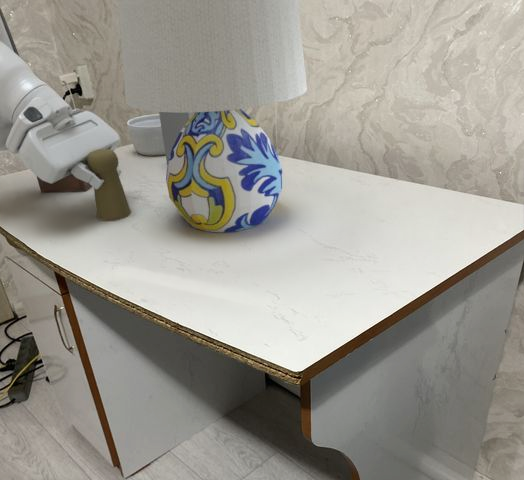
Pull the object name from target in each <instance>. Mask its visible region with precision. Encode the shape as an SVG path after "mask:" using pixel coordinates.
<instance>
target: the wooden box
mask: <svg viewBox="0 0 524 480" xmlns="http://www.w3.org/2000/svg"><path fill="white" fill-rule="evenodd" d="M85 169H87V170H89V168H88V166H86V168H85ZM89 171H90V170H89ZM36 179H37V182H38V186H39V189H40V190H39V191H40V193H74V192H75V191H76V192H77V193H78V192H87V191H88V190H89V189H91V187H92V186H91V185H90V184H89V183H87V182H85V181H82V180H80V179H78V178H76V177H75V176H74V175H73V174H70V175H68V176H66V177H64V178H62V179H60V180H58V181H56V182H54V183H52V184H51V183H48V182H45V181H43V180H41V179H40V178H39V177H38V176H36Z"/></svg>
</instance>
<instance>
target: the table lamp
mask: <svg viewBox="0 0 524 480" xmlns="http://www.w3.org/2000/svg"><path fill="white" fill-rule="evenodd" d="M117 8H118V18H119V19H118V20H119V34H120V35H119V36H120V46H121V47H120V48H121V58H122V71H123V72H122V73H123V85H124V96H125V97H124V99H125V104H126V105H127V106H128V107H131V108H133V109H136V110H142V111H146V112H157V113H159V112H178V113H184V112H195V114H194V115H193V116H192V117H191V119H190V120H189V121H188V122H187V124H186V125H185V126H184V127H183V128H182V130H181V131H180V133H179V135H178V137H177V139H176V141H175V143H174V145H173V147H172V150H171V154H170V157H169V161H168V164H167V163H166V174H165V176H166V177H165V183H166V187H167V192H168V197H169V199H170V201H171V202H172V204H173V206H174V207H175V209H176V210H177V212H178V213H179V214H180V215H181V216H182V218H184V220H185V221H186V222H187V223H188V224H189V225H190V226H191V227H193V228H194V229H197V230H200V231H203V232H209V231H210V233H231V232H232V231H233V232H240V231H244V229H245V230H248V229H250V228H251V229H252V228H254V227H257V226H259V225H261V224H262V223H264V222H265V221H266V220H268V217H269V216H270V214H271V212H272V211H273V209H274V208H275V206H276V204H277V203H278V199H279V197H280V195H281V191H282V189H283V169H282V165H281V161H280V158H279V155H278V153H277V151H276V149H275V147H274V145H273V143H272V141H271V139H270V138H269V136H268V135H267V134H266V132H265V131H264V130H263V128H262V126H260V124H259V123H258V122H257V121H256V120H254V119H253V118H252V117H251V116H250V115H249V114H247V113H246V112H245V111H244V110H243V109H250V108H258V107H263V106H264V107H265V106H269V105H273V104H279V103H282V102H286V101H290V100H293V99H295V98H299V97H300V96H302V95H304V94H305V93H306V92H307V90H308V85H307V83H308V82H307V74H306V65H305V56H304V48H303V37H302V29H301V27H302V26H301V17H300V10H299V9H300V8H299V0H117ZM233 232H232V233H233Z"/></svg>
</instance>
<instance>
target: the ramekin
mask: <svg viewBox="0 0 524 480" xmlns="http://www.w3.org/2000/svg"><path fill="white" fill-rule="evenodd" d="M126 127H127V130H128V131H129V135H130V138H131V142H132V145H133V148H134V150H135V151H136V152H137V153H138V154H140V155H142V156H150V157H152V156H153V157H154V156H155V157H156V156H157V157H158V156H166V154H165V148H164V141H163V135H162V128H161V122H160V115H159V113H156V114H155V113H154V114H147V115H141V116H137V117H133V118H131V119H129V120H128V121H127V122H126Z"/></svg>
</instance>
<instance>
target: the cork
mask: <svg viewBox="0 0 524 480" xmlns="http://www.w3.org/2000/svg"><path fill="white" fill-rule="evenodd" d="M86 162H87V166H88V168H89V170H90V171H91V172H92V173H94V174H97V173H98V174H99V175H100V176H101V177H102V178H104V179H105V183H104V184H103V186H102V187H101V188H99V189H97V190H96V189H95V188H94V187H93V192H94V202H95V203H94V204H95V212H96V218H97V219H98V220H100V221H118V220H121V219H124V218H127V217H129V216H130V215H131V214H130V213H132V210H131V208H130V205H129V202H128V199H127V196H126V193H125V190H124V187H123V185H122V181H121V179H120V176H119V175H118V172H117V167H118V168H119V158H118V155H117V154H116V152H115V150H114V151H112V150H109V149H99V150H95V151H92V152H90V153H89V154H88V156H87V159H86Z"/></svg>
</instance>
